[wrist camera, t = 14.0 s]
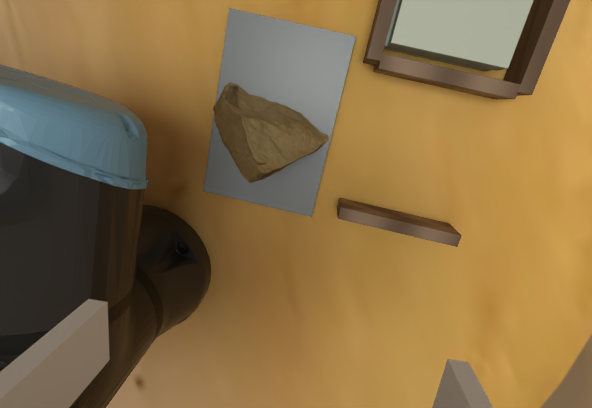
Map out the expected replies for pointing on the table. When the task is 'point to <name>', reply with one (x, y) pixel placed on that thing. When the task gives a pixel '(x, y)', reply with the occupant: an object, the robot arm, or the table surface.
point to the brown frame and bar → (517, 81)
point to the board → (280, 101)
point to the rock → (263, 133)
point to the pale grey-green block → (459, 31)
